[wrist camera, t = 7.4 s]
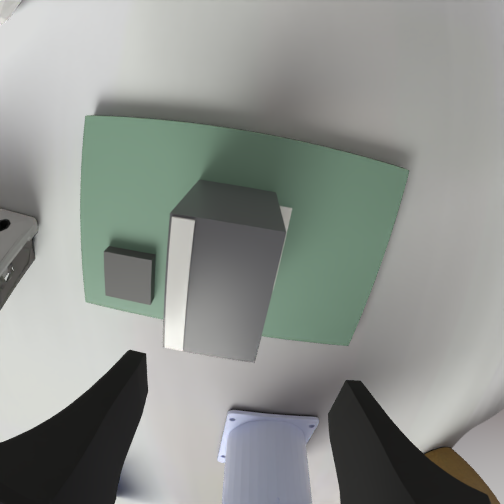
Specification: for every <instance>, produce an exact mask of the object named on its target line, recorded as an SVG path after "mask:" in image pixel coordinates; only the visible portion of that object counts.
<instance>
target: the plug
mask: <svg viewBox="0 0 504 504" xmlns="http://www.w3.org/2000/svg"><path fill="white" fill-rule="evenodd" d="M285 236H286V229H285V225H284V221H283V217H282V213H281V209H280V206H279V202H278V198H277V194H276V192H272V191H266V190H260V189H255V188H249V187H243V186H237V185H231V184H225V183H219V182H213V181H206V180H198V182H197V183H196V184H195V185H194V186H193V187H192V188H191V189H190V191H189V192H188V193H187V194H186V195H185V196H184V197H183V199H182V200H181V201H180V202H179V203H178V204H177V205H176V207H175V208H174V209H173V210H172V211H171V213H170V219H169V230H168V243H167V257H166V272H165V291H164V317H163V347H164V348H169V349H174V350H179V351H184V352H190V353H195V354H201V355H207V356H213V357H219V358H225V359H232V360H239V361H246V362H253V363H255V359H256V355H257V352H258V348H259V344H260V340H261V336H262V332H263V328H264V324H265V320H266V316H267V312H268V308H269V304H270V300H271V295H272V291H273V287H274V283H275V279H276V275H277V271H278V266H279V262H280V258H281V254H282V249H283V245H284V241H285Z"/></svg>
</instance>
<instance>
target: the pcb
mask: <svg viewBox="0 0 504 504" xmlns="http://www.w3.org/2000/svg"><path fill="white" fill-rule="evenodd" d="M408 174H409V170H407V169H404V168H402V167H398V166H395V165H392V164H389V163H385V162H382V161H378V160H375V159H371V158H368V157H364V156H360V155H357V154H353V153H349V152H345V151H341V150H337V149H333V148H329V147H325V146H321V145H316V144H312V143H308V142H303V141H298V140H294V139H289V138H284V137H279V136H274V135H269V134H263V133H258V132H252V131H246V130H240V129H234V128H227V127H220V126H213V125H206V124H198V123H190V122H181V121H172V120H162V119H151V118H138V117H122V116H101V115H89V116H85V125H84V136H83V148H82V164H81V194H80V222H81V251H82V268H83V281H84V292H85V301H86V302H88V303H92V304H96V305H100V306H104V307H108V308H112V309H117V310H121V311H125V312H130V313H135V314H139V315H144V316H149V317H153V318H158V319H163V317H164V291H165V272H166V257H167V243H168V230H169V219H170V213H171V211H172V210H173V209H174V208H175V207H176V205H177V204H178V203H179V202H180V201H181V200H182V199H183V197H184V196H185V195H186V194H187V193H188V192H189V191H190V189H191V188H192V187H193V186H194V185H195V184H196V183H197V182H198V180H206V181H213V182H219V183H225V184H231V185H237V186H243V187H249V188H255V189H260V190H266V191H272V192H276V194H277V198H278V202H279V206H280V209H281V213H282V217H283V221H284V225H285V229H286V236H285V241H284V245H283V249H282V254H281V258H280V262H279V266H278V271H277V275H276V279H275V283H274V287H273V291H272V295H271V300H270V304H269V308H268V312H267V316H266V320H265V324H264V328H263V332H262V336H264V337H271V338H279V339H287V340H295V341H304V342H313V343H322V344H332V345H343V346H348V345H349V343H350V341H351V339H352V336H353V334H354V332H355V329H356V327H357V325H358V322H359V320H360V317H361V315H362V312H363V310H364V307H365V305H366V302H367V300H368V297H369V295H370V292H371V290H372V287H373V284H374V282H375V279H376V276H377V273H378V271H379V268H380V265H381V262H382V259H383V257H384V254H385V251H386V248H387V245H388V242H389V239H390V236H391V232H392V229H393V226H394V223H395V220H396V216H397V213H398V210H399V206H400V203H401V200H402V196H403V192H404V189H405V185H406V182H407V178H408Z"/></svg>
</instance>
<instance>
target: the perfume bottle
mask: <svg viewBox="0 0 504 504" xmlns="http://www.w3.org/2000/svg"><path fill="white" fill-rule="evenodd" d="M21 1H22V0H0V25H2V24H3V23H5V22H6V21H8V20H9V19H10V17H11V16H12V14H13V13H14V11H15V10H16V8H17V7H18V5H19V4H20V2H21Z"/></svg>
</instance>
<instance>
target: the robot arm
mask: <svg viewBox="0 0 504 504" xmlns="http://www.w3.org/2000/svg"><path fill="white" fill-rule="evenodd" d="M147 393H148V382H147V364H146V353H141V352H137V351H132V350H129V351H127V352H126V353H125V354H124V355H123V356H122V358H121V359H120V360H119V361H118V362H117V363H116V364H115V365H114V366H113V367H112V368H111V369H110V370H109V371H108V372H107V373H106V374H105V375H104V376H103V377H102V378H101V379H99V380H98V381H97V382H96V383H95V384H94V385H93V386H92V387H91V388H90V389H89V390H87V391H86V392H85V393H84V394H83V395H81V396H80V397H79V398H78V399H76V400H75V401H74V402H73V403H71V404H70V405H69V406H67V407H66V408H65V409H63V410H62V411H60V412H59V413H58V414H56V415H55V416H53V417H51V418H50V419H48V420H46V421H45V422H43V423H41V424H40V425H38V426H36V427H34V428H33V429H31V430H29V431H27V432H24V433H22V434H20V435H18V436H16V437H13V438H11V439H9V440H6V441H4V442H1V443H0V504H114V501H115V496H116V491H117V487H118V483H119V478H120V474H121V470H122V467H123V464H124V461H125V458H126V455H127V453H128V450H129V447H130V445H131V442H132V440H133V437H134V434H135V432H136V429H137V427H138V424H139V421H140V419H141V416H142V413H143V409H144V405H145V401H146V397H147ZM328 420H329V436H330V442H331V447H332V452H333V457H334V462H335V467H336V472H337V478H338V483H339V489H340V501H341V504H491V502H490V499H489V496H488V494H485V493H483V492H481V491H479V490H477V489H475V488H472V487H470V486H468V485H466V484H465V483H463V482H461V481H460V480H458V479H456V478H455V477H453V476H452V475H450V474H449V473H447V472H446V471H444V470H443V469H442V468H440V467H439V466H438V465H436V464H435V463H434V462H432V461H431V460H430V459H429V458H428V457H427V456H425V455H424V454H423V453H422V452H421V451H420V450H419V449H418V448H417V447H416V446H415V445H414V444H413V443H412V442H411V441H410V440H409V439H408V438H407V437H406V436H405V435H404V434H403V433H402V432H401V431H400V429H399V428H398V427H397V426H396V425H395V424H394V422H393V421H392V420H391V419H390V418H389V416H388V415H387V414H386V413H385V411H384V410H383V409H382V408H381V406H380V405H379V404H378V402H377V401H376V400H375V398H374V397H373V396H372V395H371V393H370V392H369V391H368V389H367V388H366V387H365V386H364V384H363V383H362V382H361V381H354V380H346V381H345V383H344V385H343V387H342V389H341V391H340V393H339V395H338V397H337V398H336V400H335V402H334V404H333V406H332V408H331V410H330V412H329V413H328ZM318 424H319V419H318V418H317V417H308V416H291V415H277V414H266V413H256V412H247V411H239V410H230V411H228V413H227V418H226V422H225V427H224V431H223V436H222V440H221V444H220V449H219V453H218V458H217V460H218V461H219V462H222V463H225V469H224V482H223V496H222V504H312V497H311V487H310V478H309V469H308V460H307V452H306V444H307V442H308V441H309V439H310V437H311V436H312V434H313V432H314V431H315V429H316V427H317V425H318Z"/></svg>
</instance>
